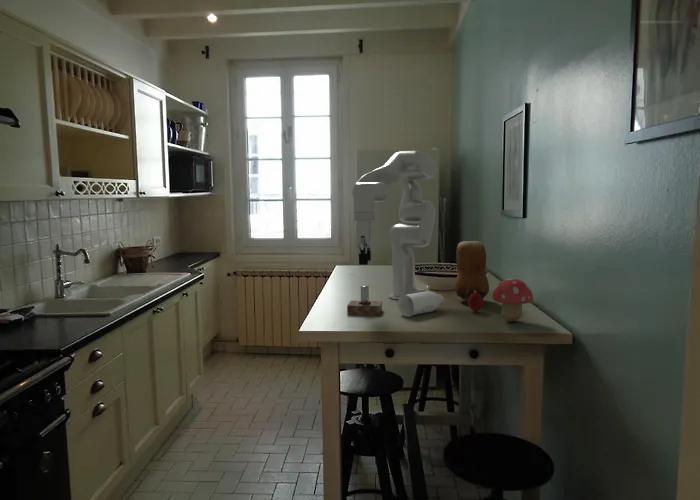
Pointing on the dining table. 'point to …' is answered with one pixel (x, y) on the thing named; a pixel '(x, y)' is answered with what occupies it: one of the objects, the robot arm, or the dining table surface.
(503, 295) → the decorative mushroom
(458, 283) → the butternut squash
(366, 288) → the peg
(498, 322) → the dining table surface
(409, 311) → the white plastic bottle
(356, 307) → the hole block
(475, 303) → the onion
